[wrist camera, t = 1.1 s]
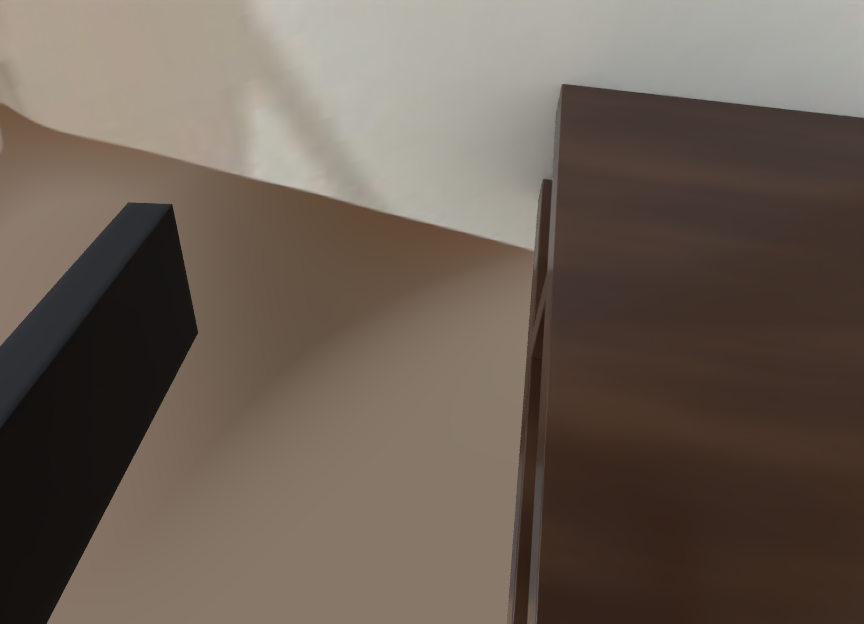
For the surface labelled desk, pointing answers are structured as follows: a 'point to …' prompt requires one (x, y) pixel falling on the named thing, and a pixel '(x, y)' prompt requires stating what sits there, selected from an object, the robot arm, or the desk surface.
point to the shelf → (694, 368)
